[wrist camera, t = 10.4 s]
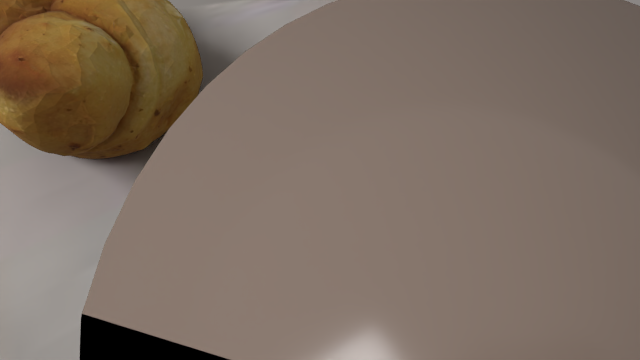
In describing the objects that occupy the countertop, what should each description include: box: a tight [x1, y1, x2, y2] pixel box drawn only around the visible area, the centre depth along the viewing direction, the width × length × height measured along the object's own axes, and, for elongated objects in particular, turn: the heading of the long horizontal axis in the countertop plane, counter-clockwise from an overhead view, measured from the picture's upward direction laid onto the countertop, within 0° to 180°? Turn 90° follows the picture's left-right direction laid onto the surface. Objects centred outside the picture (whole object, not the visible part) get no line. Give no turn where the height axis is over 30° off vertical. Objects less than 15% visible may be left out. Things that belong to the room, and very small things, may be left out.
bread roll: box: [0, 0, 203, 159], centre depth 22 cm, size 13×10×8 cm
